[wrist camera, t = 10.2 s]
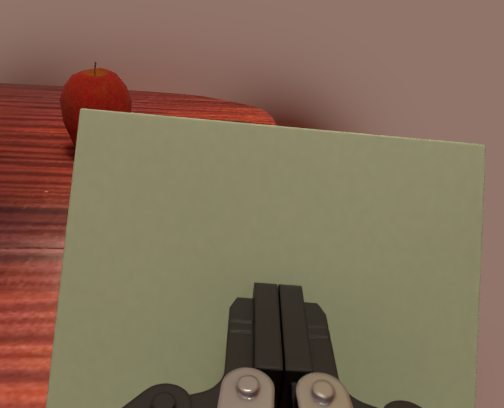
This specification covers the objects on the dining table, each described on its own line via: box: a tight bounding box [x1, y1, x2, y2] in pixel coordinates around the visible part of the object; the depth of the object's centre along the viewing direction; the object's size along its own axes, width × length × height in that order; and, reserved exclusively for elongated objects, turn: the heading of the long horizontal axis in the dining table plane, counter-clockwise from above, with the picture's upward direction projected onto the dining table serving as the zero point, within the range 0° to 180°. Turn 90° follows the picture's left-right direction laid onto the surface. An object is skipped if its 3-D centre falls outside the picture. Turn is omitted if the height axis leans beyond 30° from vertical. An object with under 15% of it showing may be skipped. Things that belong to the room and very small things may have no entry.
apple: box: [60, 62, 132, 146], centre depth 70 cm, size 10×10×14 cm
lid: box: [46, 108, 486, 408], centre depth 16 cm, size 17×14×1 cm
